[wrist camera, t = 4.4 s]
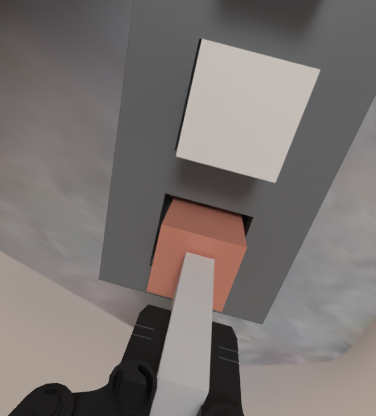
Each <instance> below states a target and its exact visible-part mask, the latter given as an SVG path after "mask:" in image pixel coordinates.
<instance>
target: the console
mask: <svg viewBox="0 0 376 416" xmlns="http://www.w3.org/2000/svg"><path fill="white" fill-rule="evenodd" d="M202 39H205V40H209V41H213V42H217V43H221V44H224V45H228V46H232V47H236V48H240V49H244V50H247V51H251V52H255V53H259V54H263V55H266V56H270V57H274V58H278V59H282V60H286V61H289V62H293V63H297V64H301V65H305V66H308V67H312V68H316V69H320V73H319V75H318V78H317V80H316V83H315V85H314V88H313V90H312V93H311V95H310V98H309V100H308V103H307V105H306V108H305V110H304V113H303V115H302V118H301V120H300V123H299V125H298V128H297V130H296V133H295V135H294V138H293V140H292V143H291V145H290V148H289V150H288V153H287V155H286V158H285V160H284V163H283V165H282V168H281V170H280V173H279V175H278V178H277V180H276V183H273V182H270V181H266V180H262V179H258V178H255V177H251V176H247V175H244V174H240V173H236V172H232V171H229V170H225V169H221V168H217V167H214V166H210V165H206V164H202V163H199V162H195V161H191V160H188V159H184V158H180V157H176V153H177V149H178V144H179V140H180V135H181V131H182V126H183V122H184V117H185V113H186V108H187V104H188V99H189V95H190V90H191V86H192V81H193V77H194V73H195V68H196V64H197V59H198V55H199V50H200V46H201V41H202ZM375 95H376V0H134V3H133V11H132V19H131V27H130V35H129V43H128V51H127V59H126V67H125V75H124V83H123V91H122V99H121V107H120V115H119V123H118V131H117V139H116V147H115V155H114V163H113V171H112V179H111V187H110V195H109V203H108V210H107V218H106V226H105V234H104V242H103V250H102V258H101V266H100V274H99V280H102V281H106V282H110V283H113V284H117V285H121V286H124V287H128V288H132V289H135V290H139V291H142V292H146V293H150V294H153V295H157V296H161V295H158V294H154V293H151V292H147V287H148V282H149V278H150V273H151V269H152V264H153V260H154V255H155V251H156V247H157V242H158V238H159V233H160V229H161V224H162V222H163V220H164V218H165V216H166V214H167V212H168V210H169V207H170V205H171V203H172V201H173V199H174V197H178V198H181V199H185V200H189V201H193V202H196V203H200V204H204V205H207V206H211V207H215V208H218V209H222V210H226V211H230V212H233V213H237V214H241V216H242V221H243V227H244V233H245V239H246V244H247V249H246V252H245V254H244V257H243V259H242V262H241V264H240V267H239V269H238V272H237V274H236V277H235V280H234V282H233V285H232V287H231V290H230V292H229V295H228V297H227V300H226V302H225V305H224V307H223V310H222V312H220V311H216V310H212V311H215V312H219V313H222V314H226V315H230V316H233V317H237V318H241V319H244V320H248V321H252V322H255V323H259V324H263V322H264V320H265V318H266V316H267V314H268V312H269V310H270V308H271V306H272V304H273V302H274V300H275V298H276V296H277V294H278V292H279V290H280V288H281V286H282V284H283V281H284V279H285V277H286V275H287V273H288V271H289V269H290V267H291V265H292V263H293V261H294V259H295V257H296V255H297V253H298V251H299V249H300V247H301V245H302V243H303V241H304V239H305V237H306V235H307V233H308V231H309V229H310V227H311V225H312V223H313V221H314V219H315V217H316V215H317V213H318V211H319V208H320V206H321V204H322V202H323V200H324V198H325V196H326V194H327V192H328V190H329V188H330V186H331V184H332V182H333V180H334V178H335V176H336V174H337V172H338V170H339V168H340V166H341V164H342V162H343V160H344V158H345V156H346V154H347V152H348V150H349V148H350V146H351V144H352V142H353V140H354V138H355V136H356V133H357V131H358V129H359V127H360V125H361V123H362V121H363V119H364V117H365V115H366V113H367V111H368V109H369V107H370V105H371V103H372V101H373V99H374V97H375ZM161 297H164V298H168V299H172V298H169V297H165V296H161ZM172 300H173V299H172Z"/></svg>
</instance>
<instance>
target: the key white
mask: <svg viewBox="0 0 376 416" xmlns="http://www.w3.org/2000/svg"><path fill="white" fill-rule="evenodd" d="M319 73H320V69H316V68H312V67H308V66H305V65H301V64H297V63H293V62H289V61H286V60H282V59H278V58H274V57H270V56H266V55H263V54H259V53H255V52H251V51H247V50H244V49H240V48H236V47H232V46H228V45H224V44H221V43H217V42H213V41H209V40H205V39H202V41H201V46H200V50H199V55H198V59H197V64H196V68H195V73H194V77H193V81H192V86H191V90H190V95H189V99H188V104H187V108H186V113H185V117H184V122H183V126H182V131H181V135H180V140H179V144H178V149H177V153H176V157H180V158H184V159H188V160H191V161H195V162H199V163H202V164H206V165H210V166H214V167H217V168H221V169H225V170H229V171H232V172H236V173H240V174H244V175H247V176H251V177H255V178H258V179H262V180H266V181H270V182H273V183H276V180H277V178H278V175H279V173H280V170H281V168H282V165H283V163H284V160H285V158H286V155H287V153H288V150H289V148H290V145H291V143H292V140H293V138H294V135H295V133H296V130H297V128H298V125H299V123H300V120H301V118H302V115H303V113H304V110H305V108H306V105H307V103H308V100H309V98H310V95H311V93H312V90H313V88H314V85H315V83H316V80H317V78H318V75H319Z"/></svg>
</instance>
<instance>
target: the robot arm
mask: <svg viewBox="0 0 376 416" xmlns="http://www.w3.org/2000/svg"><path fill="white" fill-rule="evenodd" d="M214 262H215V260H214V259H211V258H207V257H203V256H200V255H196V254H193V253H189V252H186V254H185V258H184V261H183V265H182V268H181V272H180V275H179V279H178V282H177V286H176V290H175V293H174V297H173V301H172V305H171V310H166V309H163V308H159V307H156V306H152V305H149V304H148V305H147V306H146V307H145V308H144V309H143V310H142V311H141V312H140V314H139V316H138V319H137V322H136V325H135V327H134V329H133V332H132V335H131V337H130V340H129V342H128V345H127V348H126V351H125V353H124V356H123V358H122V361H121V363H120V364H119V365H118V366H116V367H115V368H114V370H113V371H112V373H111V374H110V377H109V382H108V384H107V385H106V386H104V387H102V388H100V389H98V390H94V391H89V392H78V393H72V392H71V391H70V390H69V389H68V388H67V387H66V386H65V385H62V384H59V383H50V384H45V385H43V386H40V387H38V388H36V389H35V390H33V391H32V392H31V393H30V394H28V395H27V396H26V397H25V398H24V399H23V401H21V402H20V404H19V405H18V406H17V407H16V408H15V409H14V410H13V411H12V412H11V413H10V414H9V415H8V416H244V414H243V410H242V404H241V390H240V374H239V364H238V362H239V359H238V343H237V337H236V335H235V333H234V331H233V329H232V327H230V326H227V325H223V324H220V323H216V322H212V308H213V285H214Z"/></svg>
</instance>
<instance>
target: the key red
mask: <svg viewBox="0 0 376 416" xmlns="http://www.w3.org/2000/svg"><path fill="white" fill-rule="evenodd" d="M246 249H247V244H246V239H245V233H244V227H243V221H242V216H241V214H237V213H233V212H230V211H226V210H222V209H218V208H215V207H211V206H207V205H204V204H200V203H196V202H193V201H189V200H185V199H181V198H178V197H174V199H173V201H172V203H171V205H170V207H169V210H168V212H167V214H166V216H165V218H164V220H163V222H162V224H161V229H160V233H159V238H158V242H157V247H156V251H155V255H154V260H153V264H152V269H151V273H150V278H149V282H148V287H147V292H151V293H154V294H158V295H161V296H165V297H169V298H172V299H173V297H174V293H175V290H176V286H177V282H178V279H179V275H180V272H181V268H182V265H183V261H184V258H185V254H186V252H189V253H193V254H196V255H200V256H203V257H207V258H211V259H214V260H215V262H214V285H213V308H212V310H216V311H220V312H222V310H223V307H224V305H225V302H226V300H227V297H228V295H229V292H230V290H231V287H232V285H233V282H234V280H235V277H236V274H237V272H238V269H239V267H240V264H241V262H242V259H243V257H244V254H245V252H246Z"/></svg>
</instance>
